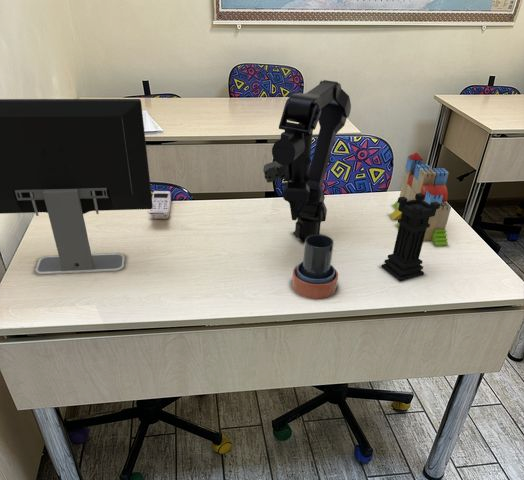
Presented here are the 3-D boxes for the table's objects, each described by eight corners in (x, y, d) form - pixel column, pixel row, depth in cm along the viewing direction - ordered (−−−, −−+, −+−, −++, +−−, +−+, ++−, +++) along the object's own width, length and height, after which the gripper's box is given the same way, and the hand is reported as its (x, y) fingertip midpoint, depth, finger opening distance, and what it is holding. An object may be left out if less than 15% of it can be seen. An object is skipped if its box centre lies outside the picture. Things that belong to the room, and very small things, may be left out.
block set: (457, 245, 150) (477, 181, 137) (412, 247, 148) (428, 182, 136) (422, 204, 171) (437, 146, 159) (382, 205, 169) (394, 146, 157)
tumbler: (310, 274, 134) (315, 231, 126) (332, 283, 131) (338, 240, 123) (295, 285, 130) (299, 241, 122) (318, 294, 126) (323, 250, 118)
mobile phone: (146, 212, 146) (152, 178, 165) (148, 231, 150) (153, 195, 169) (167, 212, 147) (171, 178, 166) (168, 231, 151) (172, 195, 170)
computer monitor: (158, 253, 141) (141, 96, 115) (158, 268, 134) (139, 106, 109) (2, 259, 135) (-53, 96, 110) (-6, 276, 129) (-66, 107, 103)
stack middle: (320, 273, 135) (322, 256, 132) (340, 291, 129) (342, 274, 126) (288, 280, 132) (289, 264, 129) (307, 300, 125) (309, 283, 122)
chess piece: (399, 281, 134) (417, 210, 121) (381, 267, 139) (396, 197, 126) (423, 274, 137) (442, 204, 124) (404, 261, 142) (420, 191, 129)
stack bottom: (321, 271, 136) (323, 257, 134) (344, 292, 129) (346, 279, 126) (284, 280, 132) (285, 266, 130) (305, 302, 125) (307, 289, 122)
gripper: (268, 137, 131) (265, 195, 141) (263, 163, 117) (261, 226, 127) (311, 140, 131) (305, 198, 141) (312, 166, 116) (306, 229, 126)
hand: (294, 212), depth 134 cm, fingers open, 9 cm apart
